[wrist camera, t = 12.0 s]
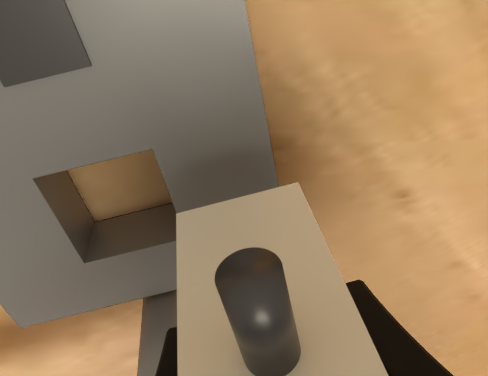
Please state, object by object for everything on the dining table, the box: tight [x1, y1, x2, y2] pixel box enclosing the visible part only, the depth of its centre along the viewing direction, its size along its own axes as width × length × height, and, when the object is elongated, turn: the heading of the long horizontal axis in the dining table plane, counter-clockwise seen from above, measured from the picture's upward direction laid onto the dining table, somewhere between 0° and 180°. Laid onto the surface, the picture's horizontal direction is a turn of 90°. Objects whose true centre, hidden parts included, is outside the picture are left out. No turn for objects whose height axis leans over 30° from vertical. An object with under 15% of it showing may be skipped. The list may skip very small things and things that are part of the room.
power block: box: [0, 0, 279, 328], centre depth 16 cm, size 14×20×3 cm
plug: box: [176, 182, 388, 376], centre depth 10 cm, size 4×6×8 cm, turn 12°
